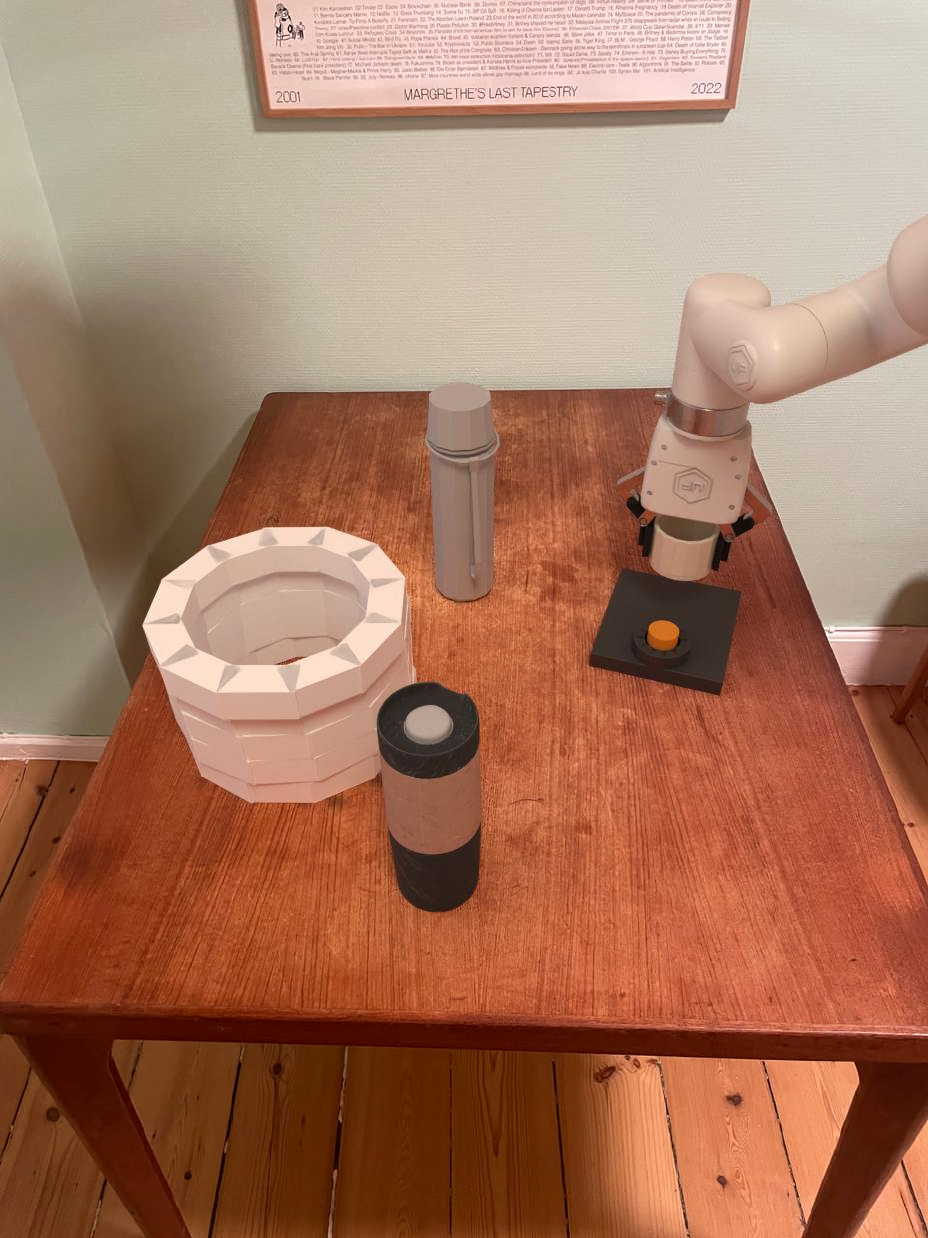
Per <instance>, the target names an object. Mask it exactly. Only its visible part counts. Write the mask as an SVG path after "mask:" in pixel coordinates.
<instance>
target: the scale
mask: <svg viewBox="0 0 928 1238" xmlns="http://www.w3.org/2000/svg"><path fill="white" fill-rule="evenodd" d="M741 595H742V590H737V589H731V588H727V587H721V586H717V585H711V584H706V583H701V582H696V581H679V580H674V579H670V578H667V577H665V576H662V575H661V574H655V573H650V572H645V571H640V570H636V569H630V568H624V567H622V568H621V571H620V573H619V576H618V578H617V581H616V584H615V586H614V589H613V592H612V594H611V596H610V600H609V602H608V605H607V608H606V610H605V613H604V616H603V619H602V621H601V624H600V627H599V630H598V631H597V635H596V638H595V640H594V643H593V646H592V648H591V651H590V655H589V664H588V665H589V667H594V668H598V669H602V670H607V671H611V672H614V673H620V674H624V675H628V676H633V677H638V678H642V679H647V680H651V681H655V682H660V683H664V684H668V685H672V686H677V687H682V688H684V689H685V688H686V689H690V690H695V691H699V692H702V693H703V692H704V693H709V694H712V695H717V696H721V694H722V689H723V686H724V682H725V675H726V671H727V666H728V660H729V657H730V656H729V655H730V652H731V651H730V649H731V645H732V641H733V636H734V630H735V626H736V620H737V616H738V612H739V611H738V610H739V605H740V601H741ZM660 620H663V621H669V622H671V623H673V624H675V625H676V626H677V627H678V629H679V637H678V642H677V645H676V647H675V648H673V649H671V650H666V651H663V650H659V649H654V648H653V647H651V646H650V645H649V644H648V642H647V635H648V629H649V626H650V624H652V623H653V622H655V621H660Z"/></svg>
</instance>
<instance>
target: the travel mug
mask: <svg viewBox="0 0 928 1238" xmlns="http://www.w3.org/2000/svg"><path fill="white" fill-rule="evenodd" d="M479 714H480V713H479V710H478V706H477V705H476V703H475V701H474V699H473V698H472V697H471V696H470V695H469V694H468V693H467V692H466V693H460V692H458V691H455V690H452V689H449V688H447V687H445V686H443V684H441V683H440V682H439V681H434V680H433V681H429V680H428V681H419V682H417V683H414V684H410V685H407V686H405V687H403V688H400V689H398V690H397V691H395V692H394V693H392V694H391V695H390V696H389V697H388V698H387V699H386V700H385V701H384V702H383V704H382V705H381V707H380V709H379V712H378V715H377V735H378V744H379V754H380V763H381V771H380V773H381V780H382V781H381V783H382V791H383V800H384V809H385V810H384V811H385V819H386V825H387V826H386V827H387V831H388V837H389V842H390V843H389V844H390V849H391V853H392V855H391V856H392V860H393V866H394V872H395V877H396V883H397V886H398V889H399V892H400V893H401V895H402V897H404V899H405V900H406V901H407V902H408V903H409V904H411V905H412V906H413V907H415V908H417V909H420V910H422V911H426V912H431V913H443V912H448V911H453V910H454V909H458V907H461V906H462V905H464V904H465V903H467V901H468V900H469V899H470V898H471V897H472V896H473V894H474V892H475V891H476V889H477V886H478V884H479V877H480V866H481V839H482V813H483V811H482V806H483V805H482V773H481V772H482V771H481V768H482V767H481V734H480V733H481V732H480V729H481V727H480V715H479Z"/></svg>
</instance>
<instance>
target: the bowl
mask: <svg viewBox="0 0 928 1238" xmlns="http://www.w3.org/2000/svg"><path fill="white" fill-rule="evenodd" d="M719 534H720V528H719V525H718V524H711V523H705V522H699V521H693V520H688V519H682V518H677V517H671V516H666V515H661V514H657V515H656V518H655V521H654V525H653V533H652V539H651V546H650V553H649V556H648V561H649V564H650V566H651V568H652V569H653V571H655V572H656V573H658V575H661V576H665V577H667V578H670V579H674V580H679V581H692V582H694V581H697V580H700V579H703V578H705V577H707V576H708V575H709V574H711V572H712V570H713V569H712V565H713V560H714V556H715V551H716V546H717V541H718V538H719Z"/></svg>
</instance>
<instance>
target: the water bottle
mask: <svg viewBox="0 0 928 1238" xmlns="http://www.w3.org/2000/svg"><path fill="white" fill-rule="evenodd" d="M427 408H428V410H427V427H426V428H427V429H426V433H425V439H424V443H425V445H426V447H427V449H428V450H429V463H430V464H429V465H430V466H429V468H430V487H431V489H430V491H431V509H432V510H431V511H432V531H433V550H434V551H433V553H434V572H435V573H434V574H435V576H434V577H435V589H437V590H438V591H439V593H441V595H443V596H444V597H445V598H446V599H449V600H452V601H455V602H460V603H461V602H473V601H476V600H478V599H480V598H483V597H485V596H486V595H487V594H488V593H489V592H490V590H491V589H492V588H493V587H494V585H495V584H494V583H495V581H494V578H495V576H494V575H495V574H494V573H495V572H494V571H495V567H494V566H495V563H494V561H495V557H494V556H495V482H494V456H495V455H496V453H497V451H498V449H499V448H500V446H501V442H500V441H501V440H500V435H499V433H498V432H497V430H496V428H495V425H494V416H493V405H492V396H491V391H489V390H488V389H487V388H486V387H484V386H483V385H480V384H475V383H471V382H450V383H446V384H443V385H440V386H437V387H435V388H434V389H433V390H432V391H431V392H429V394H428V407H427ZM495 442H496V443H495Z"/></svg>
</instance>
